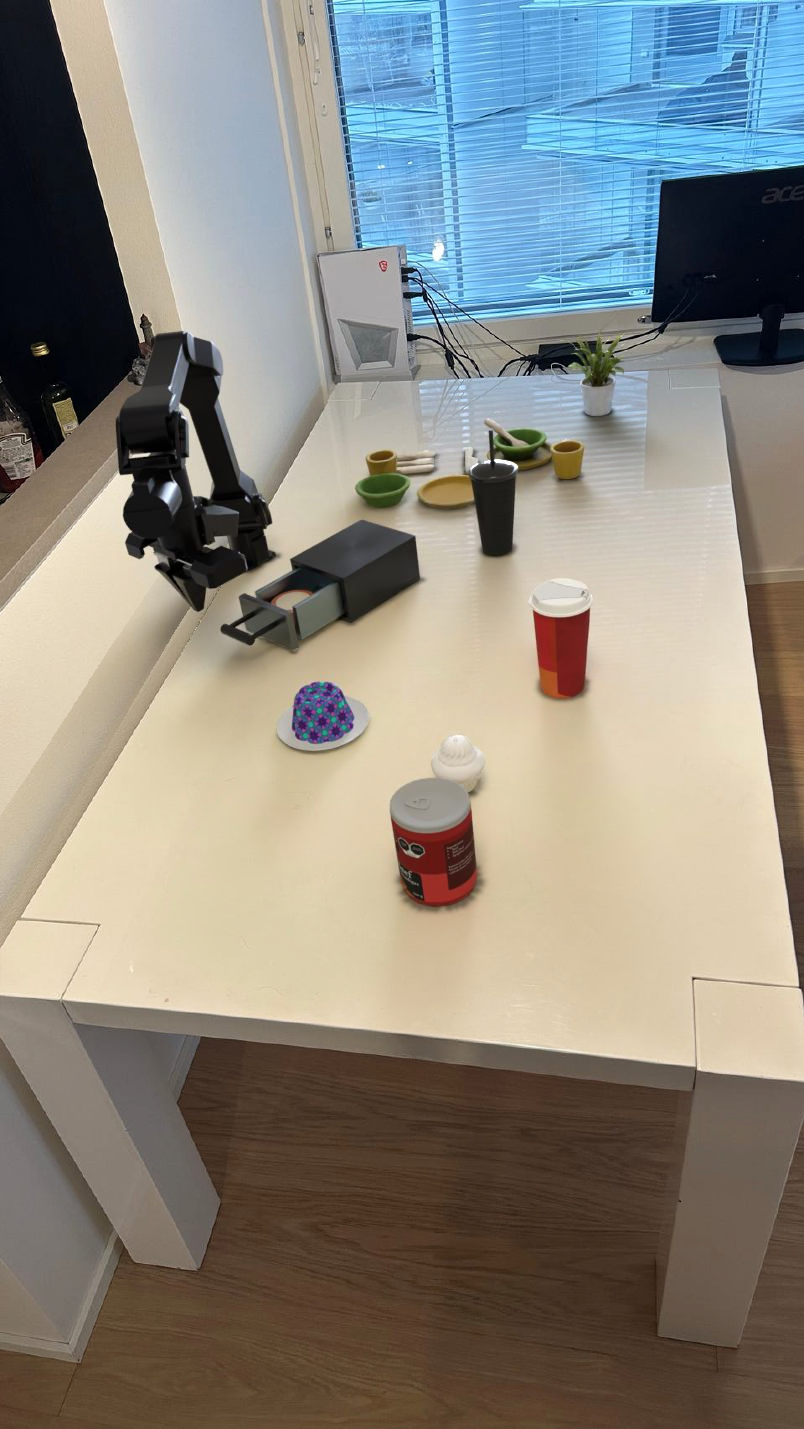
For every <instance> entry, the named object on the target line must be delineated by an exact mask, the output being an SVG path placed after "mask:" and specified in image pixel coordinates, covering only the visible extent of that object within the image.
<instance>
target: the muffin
mask: <svg viewBox="0 0 804 1429" xmlns="http://www.w3.org/2000/svg"><path fill="white" fill-rule="evenodd" d="M430 761H431V762H430V766H431V770H432V772H433V774H434V776H435V778H444V779H448V780H451V781H454V782H456V783H458V784H459V785H461V786H462V787H463V788H464V789H465V790H466V791H467V793H468V794H469V793H471V792H472V791H473V789H474V788H475V787H476V785H477V784H478V781H479V780H480V778H481V776H482V775H483V770H484V769H485V766H486V759H485V756H484V753H483V752H482V750H480V749H479V748H478V747H477V746H475V745H474V744H473V743H472V741H471V740H470V738H468V737H467V736H464V735H460V734H456V735H455V734H452V735H451V736H448V737H447V738H445V739H443V742H442V743H441V744H440V748H439V749H438V750H437V751H436V752H435V753H434V755H433V756H432V758H431V760H430Z"/></svg>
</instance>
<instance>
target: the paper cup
mask: <svg viewBox="0 0 804 1429" xmlns="http://www.w3.org/2000/svg"><path fill="white" fill-rule="evenodd" d="M527 601H528V603H527V604H528V605H529V606H530V608H531V609H532V615H533V626H534V635H535V645H536V655H537V665H538V674H539V682H540V688H541V690H542V692H543V693H544V694H545V695H547V696H549V697H551V698H553V699H554V698H555V699H569V698H570V699H571V698H573V697H576V696H578V695H579V694H581V693H582V692H583V691H584V689H585V682H586V672H587V659H588V646H589V645H588V644H589V633H590V622H591V607H592V606H593V604H594V598H593V595H592V593H591V592H590V589H589V587H588V586H587V584H585V583H584V582H583V581H580V580H577V579H573V578H565V577H563V578H562V577H561V578H560V577H559V578H553V579H548V580H546V581H543V582H541V583H539V584H538V585H537V586H536V587H535V589H533V591H532V592H531V594H530V596H529V598H528V600H527Z"/></svg>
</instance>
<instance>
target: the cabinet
mask: <svg viewBox="0 0 804 1429" xmlns="http://www.w3.org/2000/svg"><path fill="white" fill-rule="evenodd" d="M416 537H417V536H416V535H415V534H413V533H412V534H411V533H408V532H405V531H402V530H399V529H395V528H391V527H388V526H385V525H382V524H378V523H375V522H372V521H369V520H365V519H362V518H361V519H359V520H357V521H356V522H354V523H352V524H350V525H349V526H347V527H345V528H343V529H342V530H339V531H338V532H336V533H334V534H332V535H331V536H329V537H326V538H325V539H323V540H321V541H320V542H318V543H316V544H314V545H312V546H311V547H309V548H307V549H305V550H303V551H302V552H300V553H298V554H296V555H295V556H292V557H291V558H289V561H290V566H291V571H292V570H294V569H296V568H297V567H302V568H304V569H307V570H310V571H313V572H315V573H318V574H321V575H324V576H326V577H329V578H332V579H335V580H337V581H340V582H341V587H342V593H343V599H344V605H345V611H346V613H344V614H343V615H341V616H339V617H338V618H337V619H339V620H341V621H344V622H346V623H349V624H352V623H354V622H355V621H357V620H358V619H361V618H362V617H363V616H365V615H366V614H368V613H371V611H373V610H375V609H376V608H378V607H379V606H381V605H383V604H384V603H385V602H387V601H388V600H390V599H391V598H393V597H395V596H396V595H398V594H400V593H401V592H403V591H404V590H406V589H407V588H409V587H410V586H412V585H414V584H415V583H417V582H419V581H420V580H421V574H420V573H421V572H420V564H419V557H418V556H419V555H418V547H417V538H416Z"/></svg>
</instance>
